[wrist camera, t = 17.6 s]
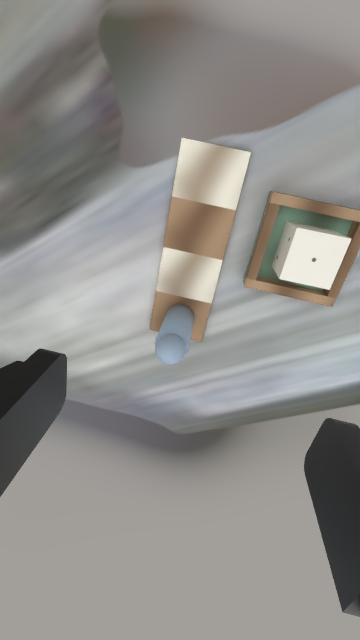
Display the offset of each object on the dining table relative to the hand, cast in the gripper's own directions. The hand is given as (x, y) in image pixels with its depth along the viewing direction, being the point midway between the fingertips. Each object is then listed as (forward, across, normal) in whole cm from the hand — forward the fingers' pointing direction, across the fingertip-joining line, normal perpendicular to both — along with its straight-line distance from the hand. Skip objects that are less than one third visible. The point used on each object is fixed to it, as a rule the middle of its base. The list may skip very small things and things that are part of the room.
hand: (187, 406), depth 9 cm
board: (+28, +2, +2) cm, 28 cm away
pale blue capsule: (+27, +2, +10) cm, 29 cm away
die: (+27, -10, -1) cm, 29 cm away
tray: (+28, -10, -1) cm, 29 cm away
